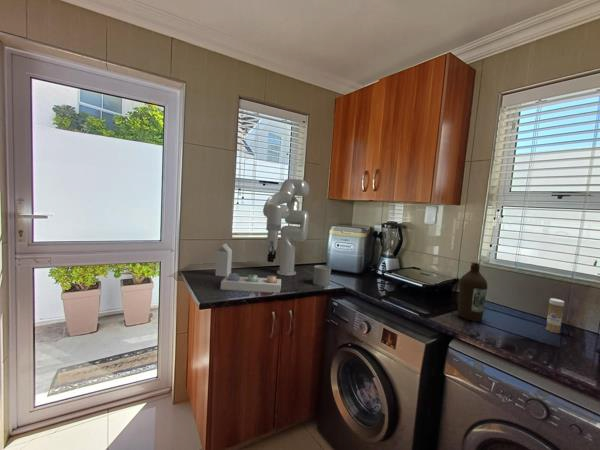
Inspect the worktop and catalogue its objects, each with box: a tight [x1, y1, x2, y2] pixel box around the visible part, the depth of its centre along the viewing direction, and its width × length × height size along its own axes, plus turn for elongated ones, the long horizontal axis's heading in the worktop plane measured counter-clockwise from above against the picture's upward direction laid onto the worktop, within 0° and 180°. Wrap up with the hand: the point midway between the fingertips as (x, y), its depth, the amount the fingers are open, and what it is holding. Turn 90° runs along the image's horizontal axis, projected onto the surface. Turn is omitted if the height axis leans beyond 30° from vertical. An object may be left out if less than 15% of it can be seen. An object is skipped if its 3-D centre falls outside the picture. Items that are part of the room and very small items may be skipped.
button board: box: [220, 276, 282, 294], centre depth 149 cm, size 12×30×4 cm, turn 91°
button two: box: [229, 272, 240, 281], centre depth 149 cm, size 5×5×4 cm
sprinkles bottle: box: [545, 297, 565, 334], centre depth 117 cm, size 5×5×14 cm
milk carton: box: [215, 243, 233, 278], centre depth 170 cm, size 7×7×19 cm
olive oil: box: [457, 261, 488, 322], centre depth 126 cm, size 11×11×25 cm
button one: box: [266, 275, 277, 283], centre depth 149 cm, size 5×5×4 cm
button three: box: [247, 274, 258, 282], centre depth 149 cm, size 5×5×4 cm
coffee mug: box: [312, 264, 332, 287], centre depth 167 cm, size 13×10×10 cm
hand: (271, 260), depth 148 cm, fingers open, 9 cm apart
